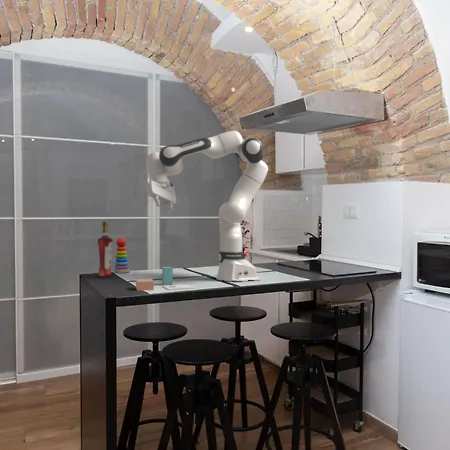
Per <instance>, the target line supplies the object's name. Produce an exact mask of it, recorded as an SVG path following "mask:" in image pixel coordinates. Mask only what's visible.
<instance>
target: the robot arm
mask: <svg viewBox="0 0 450 450" xmlns="http://www.w3.org/2000/svg"><path fill="white" fill-rule="evenodd" d="M197 153H199V154H200V153H201V154H203V155H205V156H207V157H208V158H209V159H214V160H215V159H221V158H223V157H225V156H227V155H230V154H233V153H234V154H235V155H236V156H237V157H238V158H239V160H240V161H241V162H242V163H243V164H246V168H245V169H244V171H243V173H242V175H240V177H239V179H238V180H237V182H236V184H235V186H234V188H233V191H232V193H231V195H230V197H229V199H228V201H227V202H224V203H223V204H221V206H220V207H219V209H218V223H219V226H218V227H219V239H220V240H219V252H218V261H219V263H218V264H219V265H218V270H217V275H216V277H215V278H216V280H218V281H223V280H224V282H232V281H242V282H249V281H248V280H255V281H261V280H262V277H260V276H259V275H258V274H257V269H256V267H255V265H253V264H252V263H251V262H250V261H248V260H247V259H246V258H248V257H249V256H250V254H249V253H248V252H244V251H243V234H242V227H241V222H242V221H244V219H245V218H246V215H247V213H248V211H249V209H250V207H251V204H252V202H253V200H254V199H255V196H256V195H257V193H258V192H259V190H260V188H261V187H262V184H263V183H264V182H265V179H266V178H267V175H268V171H269V166H268V165H267V164H266V162H265V161H263V157H264V146H263V143H262V142H261V141H260V139H258V138H255V137H249V138H247V139H244V138H243V137H242V134H241V133H240V132H238V131H237V130H230V131H225V132H222V133H219V134H217V135H216V134H215V135H214V136H211V137H204V138H203V137H201V138H198V139H197V138H196V139H193V140H190V141H187V142H184V143H180V144H168V145H166V146H164V147H162V149H160V151H159V152H158V151H155V152H151V153H150V154H148V156H147V157H146V160H145V161H146V170H147V173H148V175H149V176H148V177H147V178H146V184H145V188H146V195H147V196H148V197H151V198H152V199H153V202H154V203H155V206H157V207H160V206H162V204H161V202H162V203H165V204H166V205H167V211H168V212H171V211H173V206H174V205H175V204H176V203H177V196H176V191H175V185H174V184H173V183H172V181H170V179H169V178H168V177H176V176H179V175H181V174H182V173H183V172H184V169H185V167H184V166H185V165H184V162H183V158H185V157H188V156H191V155H195V154H197Z"/></svg>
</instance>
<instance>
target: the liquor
mask: <svg viewBox="0 0 450 450" xmlns="http://www.w3.org/2000/svg"><path fill="white" fill-rule="evenodd" d="M108 227H109V222H108V221H102V235H101V237H99V238H98V239H97V254H98V273H97V275H98V276H99V277H100V278H110V276H112V255H113V254H112V253H113V241H114V240H113V238H111V237H109V230H108V229H109V228H108Z"/></svg>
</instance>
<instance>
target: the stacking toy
mask: <svg viewBox="0 0 450 450" xmlns="http://www.w3.org/2000/svg"><path fill="white" fill-rule="evenodd" d="M126 243H127V241H126V239H125V238H124V237H119V238H117V240H116V246H117V247H116V250H117V251H116V255H115V262H114V264H115V266H114V273H116V274H126V273H129V272H130V265H129V259H128V255H127V247H126Z"/></svg>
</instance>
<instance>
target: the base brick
mask: <svg viewBox="0 0 450 450" xmlns="http://www.w3.org/2000/svg"><path fill="white" fill-rule="evenodd" d="M154 286H155V281H154V280H153V279H152V278H140V279H139V278H137V279H135V289H136V290H137V291H138V292H139V291H155V290H154V288H155V287H154Z"/></svg>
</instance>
